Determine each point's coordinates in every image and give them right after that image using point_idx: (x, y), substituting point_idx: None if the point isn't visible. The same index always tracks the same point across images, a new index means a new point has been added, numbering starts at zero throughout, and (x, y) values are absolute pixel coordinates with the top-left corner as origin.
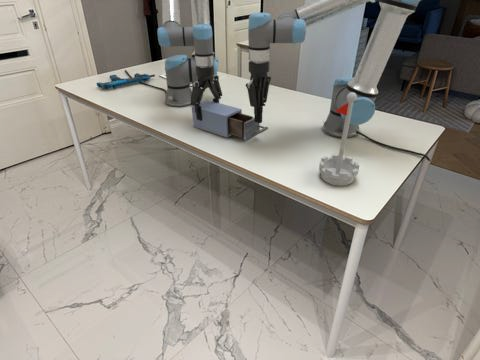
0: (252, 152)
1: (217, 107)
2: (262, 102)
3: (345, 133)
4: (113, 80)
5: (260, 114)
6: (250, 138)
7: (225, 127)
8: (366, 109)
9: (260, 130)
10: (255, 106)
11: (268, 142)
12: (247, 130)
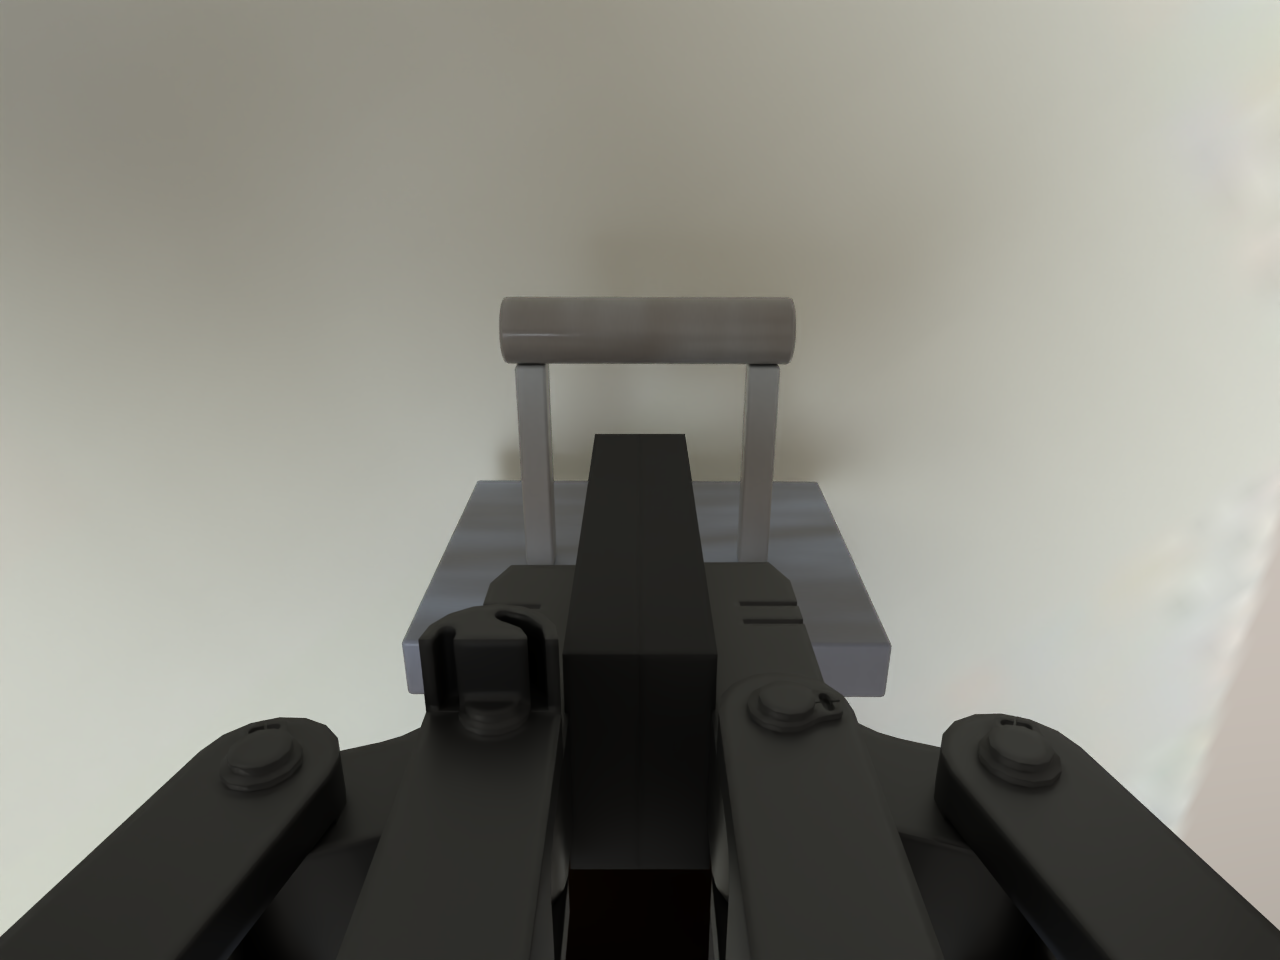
0: (940, 251)
1: None
2: (521, 774)
3: None
4: None
5: (676, 524)
6: (713, 482)
7: None
8: None
9: (750, 328)
10: (1072, 751)
11: (515, 257)
12: (815, 558)
